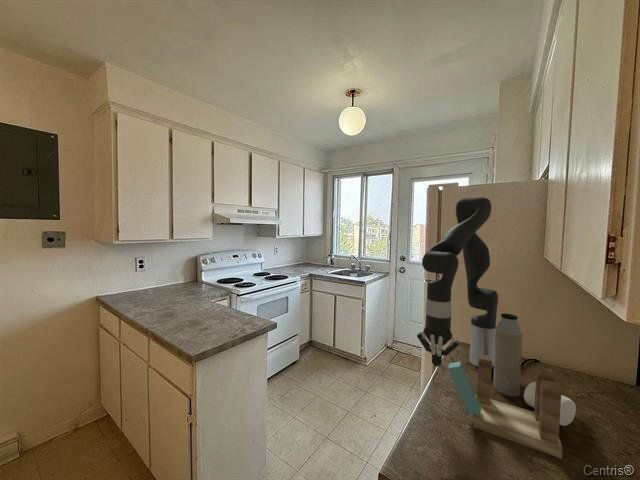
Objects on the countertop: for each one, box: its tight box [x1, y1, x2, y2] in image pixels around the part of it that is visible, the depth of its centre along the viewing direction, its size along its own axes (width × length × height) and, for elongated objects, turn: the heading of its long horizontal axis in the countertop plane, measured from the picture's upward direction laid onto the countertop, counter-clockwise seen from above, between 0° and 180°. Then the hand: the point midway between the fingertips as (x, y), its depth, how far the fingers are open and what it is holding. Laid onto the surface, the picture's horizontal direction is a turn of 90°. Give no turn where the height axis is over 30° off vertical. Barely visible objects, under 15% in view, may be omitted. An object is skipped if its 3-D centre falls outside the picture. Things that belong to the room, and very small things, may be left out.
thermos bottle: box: [492, 313, 523, 397], centre depth 97 cm, size 8×8×28 cm
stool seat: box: [472, 354, 563, 459], centre depth 79 cm, size 13×20×18 cm, turn 58°
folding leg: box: [447, 361, 481, 416], centre depth 82 cm, size 4×4×14 cm
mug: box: [523, 381, 577, 427], centre depth 85 cm, size 12×10×8 cm
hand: (436, 365), depth 86 cm, fingers closed
